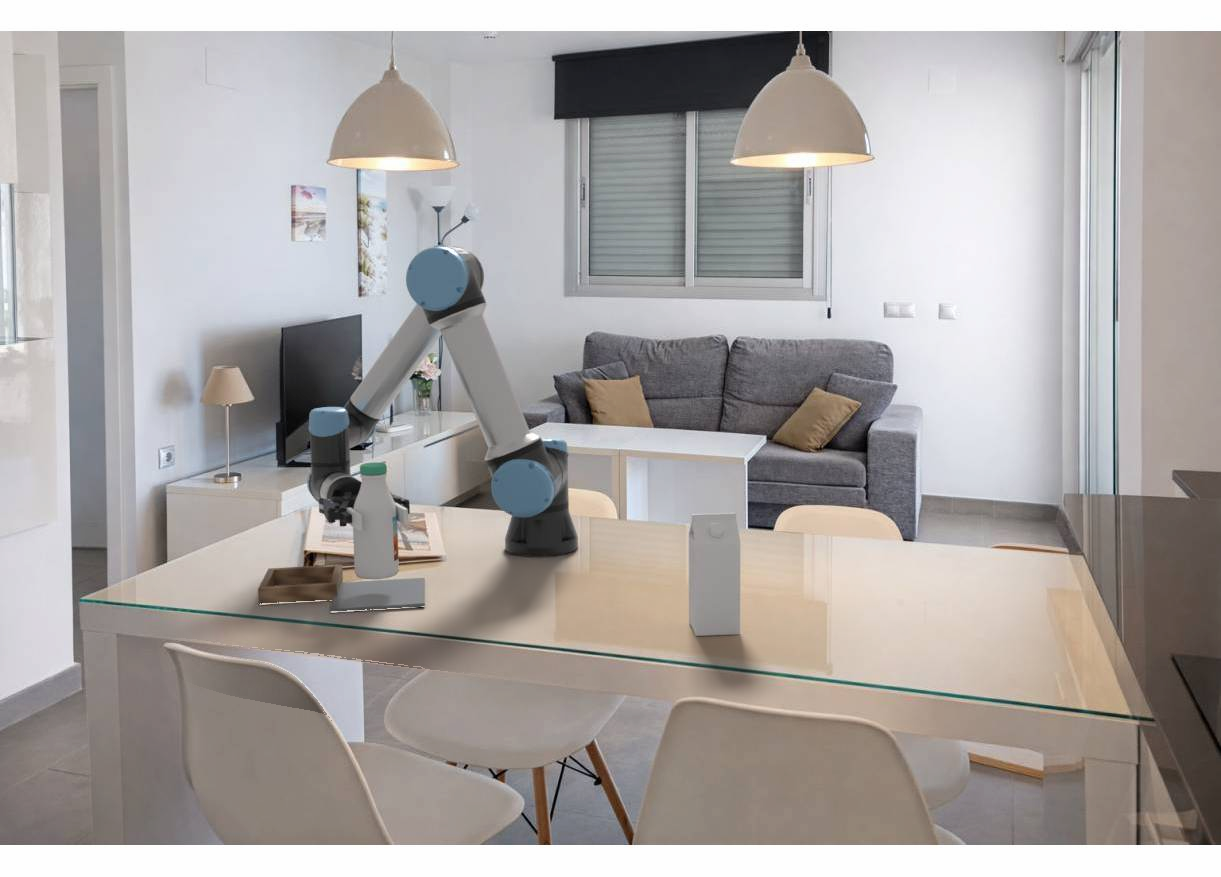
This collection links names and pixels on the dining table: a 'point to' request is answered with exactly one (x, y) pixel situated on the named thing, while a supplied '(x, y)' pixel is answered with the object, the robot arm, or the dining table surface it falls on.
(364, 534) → the milk bottle
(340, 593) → the trivet
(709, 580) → the milk carton
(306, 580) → the tray
